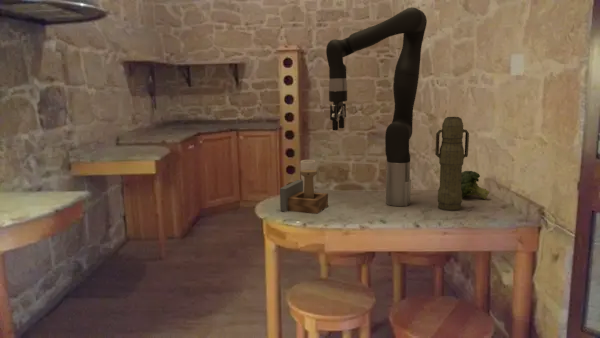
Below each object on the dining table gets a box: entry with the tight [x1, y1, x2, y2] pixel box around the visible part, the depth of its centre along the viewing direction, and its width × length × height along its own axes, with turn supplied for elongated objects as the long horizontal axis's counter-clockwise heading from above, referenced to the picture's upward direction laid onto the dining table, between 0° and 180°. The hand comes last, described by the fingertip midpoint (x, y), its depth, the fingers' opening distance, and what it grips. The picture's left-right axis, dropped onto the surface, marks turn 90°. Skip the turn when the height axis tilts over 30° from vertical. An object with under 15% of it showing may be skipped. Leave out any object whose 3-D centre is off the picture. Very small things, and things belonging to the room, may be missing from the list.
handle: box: [299, 169, 318, 199], centre depth 186 cm, size 5×6×15 cm
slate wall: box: [279, 179, 303, 213], centre depth 190 cm, size 2×17×9 cm, turn 157°
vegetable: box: [461, 170, 490, 200], centre depth 199 cm, size 12×13×15 cm
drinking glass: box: [299, 159, 317, 193], centre depth 209 cm, size 7×7×15 cm
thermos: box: [435, 116, 470, 212], centre depth 181 cm, size 9×12×35 cm
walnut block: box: [287, 191, 329, 214], centre depth 187 cm, size 12×12×5 cm
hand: (338, 129), depth 199 cm, fingers open, 8 cm apart
